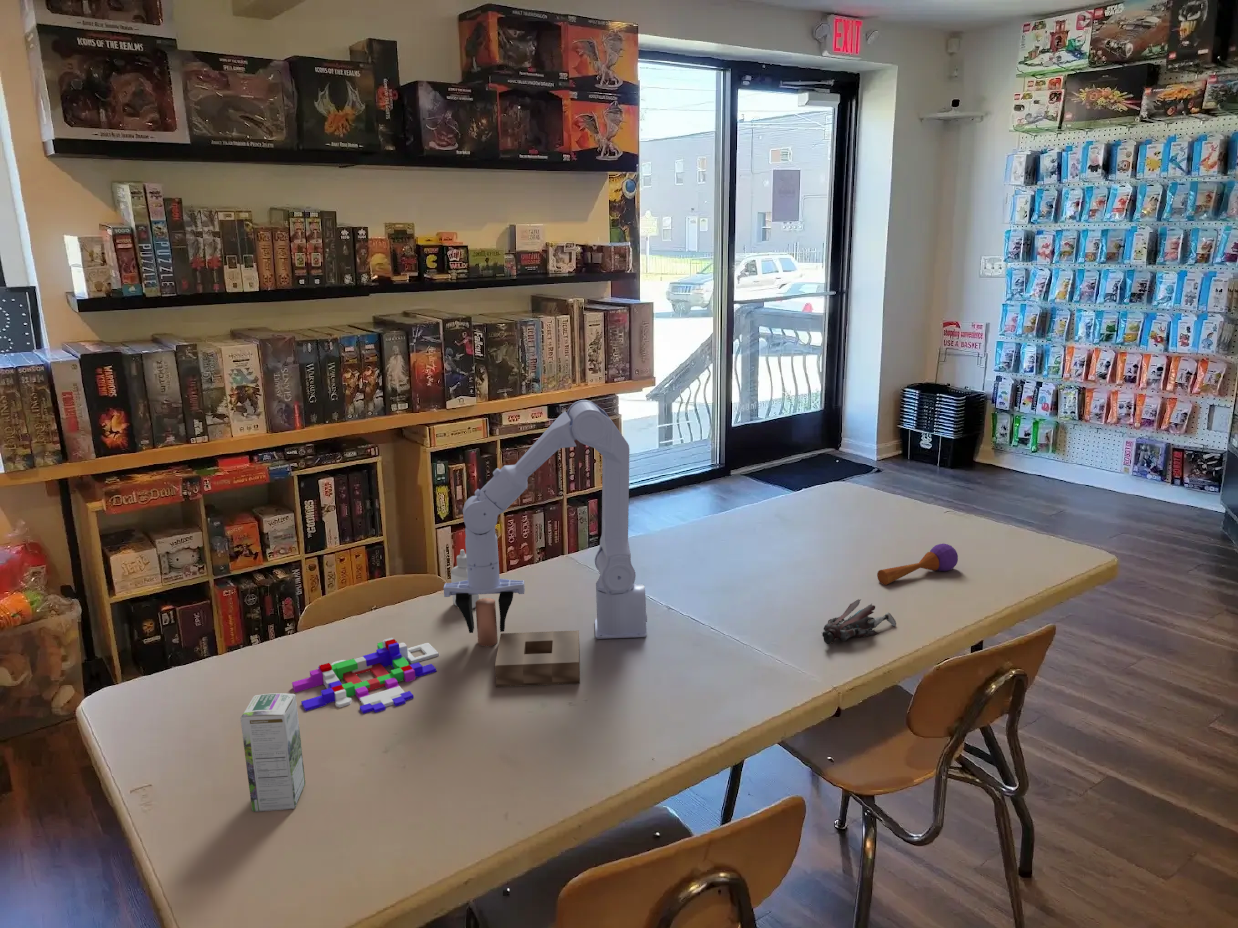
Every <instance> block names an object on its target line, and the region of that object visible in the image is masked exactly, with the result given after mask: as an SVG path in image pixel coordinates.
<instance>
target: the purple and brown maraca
mask: <svg viewBox="0 0 1238 928" xmlns="http://www.w3.org/2000/svg"><path fill="white" fill-rule="evenodd" d="M958 559H959V555H958V552H957V550H956V549H955V548H954V547H953V546H952V545H950V544H949V543H948V544H947V543H939V544H936V545H934V546H932V548H931V549H930V550H929V551H927V552H926V553H925V554H924V555H923V557H922V558H921V559H920V560H919V562H916V563H911V564H906V565H900V566H894V567H890V568H884V569H879V570H878V571H877V574H876V575H877V579H878V582H879V583H880V584H882V585H884V586H887V585H889V584H891V583H893V582H895V581H898V580H899V579H901V578H903V577H905V576H908V575H909V574H912V573H913V572H915V571H917V570H919V569H924V570H928V571H940V572H947V571H948V572H949V571H951V570H953V569H954V568H955V567H956V566H957V564H958V561H959V560H958Z"/></svg>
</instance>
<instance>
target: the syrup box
mask: <svg viewBox="0 0 1238 928" xmlns="http://www.w3.org/2000/svg"><path fill="white" fill-rule="evenodd" d="M299 722H300V721H299V714H298V704H297V695H296V694H294V693H285V692H284V693H283V692H282V693H281V692H279V693H278V692H277V693H276V692H275V693H274V692H273V693H263V694H262V693H261V694H256V695H253V696H252V699H250V702H249V703H248V705H247V707H246V709H245V710H244V712H243V713H242V715H241V717H240V725H241V734H242V742H243V748H244V750H243V751H244V756H245V757H244V758H245V764H246V765H245V766H246V773H247V774H246V775H247V780H248V788H249V789H248V790H249V795H250V804H251V811H252V812H253V813H254V812H255V813H258V812H269V811H270V812H271V811H272V812H273V811H282V810H283V811H285V810H295V809H296V807H297V805H298V802H299V801H300V799H301V795H302V792H303V791H304V788H305V786H306V777H305V768H304V767H305V766H304V759H303V757H304V755H303V748H302V738H301V731H300V723H299Z"/></svg>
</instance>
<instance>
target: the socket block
mask: <svg viewBox="0 0 1238 928" xmlns="http://www.w3.org/2000/svg"><path fill="white" fill-rule="evenodd" d="M580 651H581V650H580V630H557V631H553V630H552V631H532V632H529V631H528V632H527V631H526V632H507V633H506V632H505V633H500V636H499V640H498V645H497V653H496V657H495V663H494V664H495V665H494V670H495V671H494V672H495V687H496V688H503V687H504V688H506V687H510V688H511V687H529V686H532V687H533V686H551V685H552V686H555V685H559V686H560V685H577V684H578V685H579V684H581V677H580V676H581V675H580V674H581V673H580V672H581V671H580V669H581V667H580V665H581V663H580V661H581V660H580V659H581V658H580Z"/></svg>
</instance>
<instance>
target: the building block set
mask: <svg viewBox="0 0 1238 928" xmlns="http://www.w3.org/2000/svg"><path fill="white" fill-rule="evenodd" d="M375 650H376V651H375V652H371V653H369V654H365V655H362V656H361V657H357V658H351V659H350V658H349V659H347V660H346V659H340V660H336V661H333V662H332V663H331V664H330V662H328V663H324V664H320V665H318V668H317V669H313V670H309V677H305V678H303V679H299V680H295V681H291V684H292V689H293V691H294V693H298V692H302V691H305V690H309V689H312V688H315V687H320V686H322V685H324V687H325V688H326V689H322V690H320V694H321V695H318V696H314V697H312V698H309V699H308V698H307V699H305V700H302V701H301V702H300V703H301V706H302V707H303V709H304V710H305V712H308V711H312V710H314V709H318V708H322V707H324V706H326V705H327V704H330V703H333V702H335V703H334V704H335V705H334V706H336V707H337V708H344V707H347V706H350V705H351V704H352V702H353V699H352V697H353V696H355V697H356V698H357V699H358V700H359V702H360V701H361V702H360V704H361V705H360V706H359V710H360V711H361V713H362V714H367V713H370V712H374V713H378V712H382V711H386V707H389V706H392V705H393V706H395V707H399V706H402V705H404V704H406V701H408V700H409V701H410V700H412V699H414V694H413V693H412V692H411V691H410V690H408V691H405V690H404V689H403V688H402V687H401V686H400V685H399V683H398V682H403V681H404V682H406V683H408V682H411V681H414V680H416V678H417V677H418V678H419V677H423V676H427V675H430V674H434V673H436V672H437V668H436V667H435V666H434V665H433V664H432V663H429V664H425V665H422V664H421V663H420V662H422V661H425V660H429V659H433V658H436V657H439V656H440V654H439V652H438V650H436V648H435V647H434V646H432V645H431V643H429V642H425V643H421V644H418V645H415V646H411V647H408V645H407V644H406V643H405V642H398V641H397V640H396V639H395V638H394V637H393V636H392V637H388V638H385V639H383V640H382V641H380V642H377V649H375ZM418 651H422V653H423V654H422V655H419V656H416V657H415V656H414V655H413V654H412V653H414V652H418ZM388 666H390V667H391V668H392V669H391V670H390V673H389V672H388V671H387V669H386V668H385V667H388ZM366 671H368V672H371V674H372V675H373V676H374V677H373V678H371V679H367V680H364V681H362V680H361V679H360V677H359V676H358V675H360V674H364V673H367V672H366ZM356 674H357V675H356ZM340 680H343V681H344V682H345V683H342V682H341V681H340ZM383 687H385V688H386V689H385V690H382V691H381V690H380V691H378V692H374V693H372V694H370V693H369V692H370V691H373V690H377V689H380V688H383Z"/></svg>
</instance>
